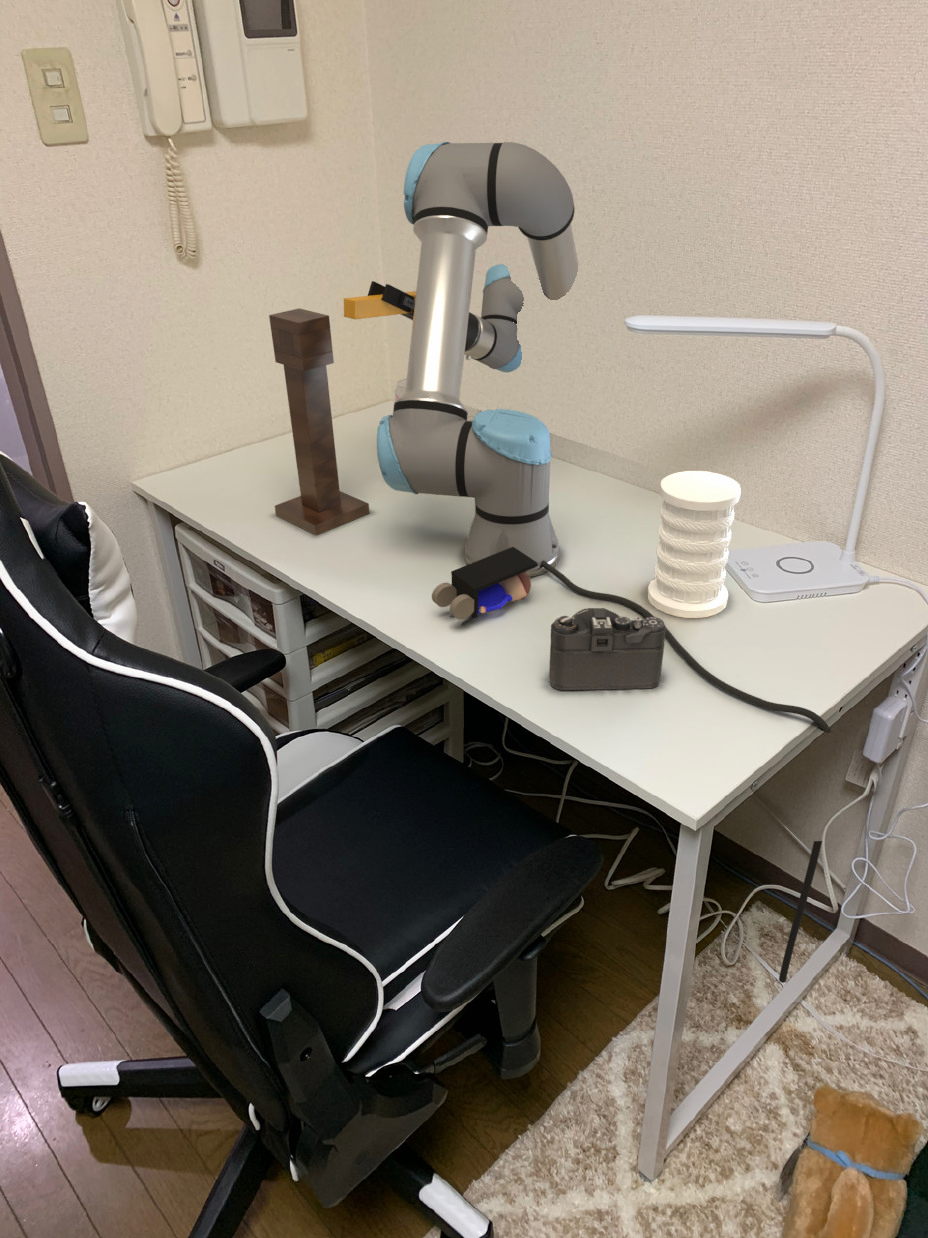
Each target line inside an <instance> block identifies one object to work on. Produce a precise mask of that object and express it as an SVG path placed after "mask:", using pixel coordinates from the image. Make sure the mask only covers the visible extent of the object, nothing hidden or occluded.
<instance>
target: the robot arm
mask: <svg viewBox="0 0 928 1238" xmlns="http://www.w3.org/2000/svg"><path fill="white" fill-rule="evenodd" d="M403 195H404V198H403V208H404V214H405V217H406V219H407V221H408V222H409V224H410V225H413V228H412V229H413V233H414V235H415V236H416V237H417V239H418V240H419V242H420V243H421V244H420V251H419V263H418V271H417V281H416V289H415V291H416V298H415V297H413V296H411V295H409V294H407V293H405V292H406V291H403V290H401V289H399V288H397V287H395V286H393V285H391V284H388V283H386V284H385V286H384V285H382V284H380V283H379V282H376V281H374V280H372V281H371V283H370V286H369V289H368V293H367V296H372V295H382V294H383V296H382V299H381V300H383V301H385V302H387V303H389V304H391V305H393V306H395V307H397V308H399V309H402V310H404V311H406V312H408V313H405V314H400V316H402V317H405V318H407V319H409V320H411V321H412V327H411V336H410V344H409V352H408V353H409V354H408V364H407V371H406V378H407V380H406V390H405V393H404V395H403V396H401V397H400V398H399V399H397V400H396V401H395V400H394V403H393V409H392V410H393V411H392V414H387V415H385V416H383V417H382V418H381V419H380V421H379V425H378V427H377V433H376V453H377V454H376V455H377V461H378V462H377V463H378V466H379V470H380V473H381V476H382V478H383V481H384V482H385V484H386V485H387V486H388V487H389V488H390V489H392V490H394V491H397V492H404V493H411V494H413V495H418V494H425V495H436V496H449V497H458V498H459V497H461V498H472V499H474V516H473V520H472V522H471V526H470V529H469V533H468V536H467V538H466V541H465V545H464V560H465V562H466V565H468V564H471V563H473V562H476V561H478V560H481V559H483V558H486V557H488V556H491V555H493V554H496V553H498V552H501V551H503V550H506V549H508V548H511V547H515V548H516V549H518V550H519V551H521V552H522V553H524V554H525V555H527V556H528V557H530V558H531V559H533V560H534V561H535V562H537V563H538V566H537V567H535V568H533V569H530V570H528V571H525V573H526V574H527V575H528V577H529V578H532V577H533V578H534V577H537V576H539V575H542V574H545V573H547V572H549V573H551V575H553V576H554V577H556V578H557V579H558V580H559V581H561V582H562V583H563V584H564V586H566V587H567V588H569V589H570V590H571V591H573V592H574V593H577V594H578V595H581V596H585V597H587V598H593V599H598V600H606V601H611V602H616V603H618V604H619V603H620V604H622V605H624V606H627V607H629V608H631V609H632V610H634V611H635V612H637V613H639V614H641V616H642V617H644V619H645V618H647V617H655V615H653V614H652V613H651V612H650V611H648V610H647V609H646V608H644V607H643V606H642V605H640V604H638V603H636V602H635V601H632V600H630V599H628V598H627V597H623V596H620V595H617V594H610V593H604V592H597V591H593V590H592V591H591V590H588V589H585V588H582V587H580V586H578V585H576V584H575V583H574V582H572V580H570V579H569V578H568V577H567V576H566V575H564V574H563V573H562V572H561V571H559V570H558V569H556V568H555V566H556V565H557V564H558V563H559V560H560V546H559V541H558V538H557V535H556V532H555V528H554V526H553V522H552V519H551V516H550V483H551V482H550V480H551V478H550V477H551V476H550V475H551V460H552V456H553V455H552V451H551V433H550V431H549V429H548V426H547V425H546V424H545V423H544V422H543V421H542V420H541V419H539V418H538V417H536V416H534V415H531V414H530V413H527V412H523V411H519V410H514V409H507V408H496V409H494V410H493V409H485V410H482V411H480V412H478V413H476V414H475V416H474V417H473V419H472V420H468V412H469V410H468V409H467V408H466V407H465V405H464V404H463V403H462V401H461V399H460V398H461V391H462V390H461V387H462V380H463V370H464V360H467V361H471V359H473V360H474V361H477V362H479V363H480V364H483V365H485V366H487V367H488V368H490V369H492V370H497V371H499V372H503V373H511V372H514V371H516V370H517V369H519V368H520V366H521V365H522V364H521V360H522V352H521V345H520V344H519V341H518V340H517V336H518V328H517V325H516V324H517V314H518V312H520V311H521V309H522V306H524V305H523V304H524V303H523V301H524V297H523V294H522V291H521V290H520V289H519V287H517V286H516V284H514V283H513V282H512V281H511V277H510V273H509V271H508V268H507V266H505V265H504V264H505V263H500V264H495V265H493V266H490V267H489V268H488V270H487V271H486V274H485V280H484V285H483V286H484V287H483V289H482V301H481V302H482V303H481V312H480V313H481V315H480V316H479V315H477V314H474V313H472V312H470V306H471V299H472V289H473V279H474V271H475V263H476V261H475V260H476V253H477V250H478V249H479V248H480V247H482V246H483V245H484V244H485V243H486V241H487V240H488V239H487V238H488V232H489V231H488V230H489V227H516V228H518V230H519V231H520V233H521V234H522V235H523V236H524V237H526V238H527V239H526V240H527V242H528V245H529V249H530V253H531V256H532V259H533V263H534V266H535V269H536V273H537V277H538V279H539V280H540V283H541V287H542V290H543V293H544V295H545V296H546V297H547V298H548V299H550V300H558V299H560V298H561V297H563V296H565V295H566V293H567V292H569V290H570V289H571V287H572V285H573V283H574V281H575V278H576V276H577V272H578V265H579V260H578V254H577V249H576V242H575V239H574V233H573V232H574V231H573V228H572V222H573V220H574V217H575V209H576V208H575V202H574V197H573V192H572V190H571V187H570V185H569V183H568V182H567V180H566V178H565V176H564V175H563V173H562V172H561V171H560V170H559V168H558V167H557V166H556V165H555V164H554V163H553V162H552V161H551V160H549V159H548V158H547V157H546V156H545V155H543V154H542V153H541V152H539V151H538V150H536V149H534V148H532V147H530V146H528V145H526V144H522V143H519V142H512V141H508V142H507V141H505V142H449V141H442V142H439V143H430V144H429V143H428V144H427V143H426V144H424V145H421V146H420V147H419V148H418V149H416V150H415V152H414V153H413V154H412V156H411V158H410V159H409V163H408V166H407V168H406V173H405V178H404V183H403ZM414 299H415V300H414ZM411 309H412V310H413V311H412V313H410V312H411ZM513 322H514V323H513ZM520 364H521V365H520ZM665 640H667V641H668V643H669V644H670V645H671V646H672V647H673V649H674V650H675V651H676V652H677V653H678V654H679V655H680V656H681V657H682V658H683V660H685V662H686V663H687V664H688V665H689V666H690V667H691V668H692V669H693V670H694V671H695V672H696V673H698V674H699V675H700V676H701V677H702V678H704V679H705V680H706V681H708V682H709V683H711V684H712V685H714V686H716V688H719V689H720V690H722V691H724V692H726V693H728V694H729V695H731V696H734V697H735V698H738V699H741V700H743V701H746V702H748V703H750V704H752V705H755V706H757V707H760V708H762V709H766V710H769V711H773V712H774V711H775V712H780V713H787V714H795V715H799V716H802V717H805V718H807V719H809V720H811V721H812V722H814V723H815V724H816V725H817V726H818V727H819V729H820V730H821V731H822V732H824V733H826V734H830V733H831V732H832V730H831V728H830V726H829V725H828V723H827V722H826V721H825V719H823V718H822V717H821V716H820V715H819V714H818V713H816V712H815V711H812V710H810V709H808V708H805V707H802V706H801V707H800V706H797V705H796V706H795V705H790V704H782V703H777V702H772V701H767V700H765V699H762V698H759V697H757V696H755V695H752V694H750V693H747V692H745V691H743V690H741V689H738V688H736V687H734V686H732V685H730V684H728V683H726V682H724V681H723V680H721V679H720V678H718V677H716V675H713V674H712V673H711V672H709V671H708V670H707V669H706V668H704V667H703V666H702V665H701V664H700V663H699V662H698V661H697V660H696V659H695V658H694V657H693V656H692V655H691V654H690V653H689V652H688V651H687V650H686V649H685V648H684V647H683V646H682V645H681V643H680V642H679V641H678V640H677V638H676V637H675V635H673V634H672V633H671V631H670V630H669V629H668V628H667V627H666V631H665ZM822 844H823V841H822V840H813V844H812V848H811V852H810V857H809V861H808V864H807V868H806V873H805V877H804V880H803V884H802V888H801V891H800V895H799V899H798V901H797V905H796V908H795V909H796V910H795V913H794V917H793V920H792V924H791V927H790V932H789V935H788V940H787V943H786V945H785V951H784V953H783V954H784V955H783V959H782V963H781V967H780V971H779V977H778V981H779V982H780V983H782V984H784V983H786V981H787V977H788V973H789V969H790V964H791V960H792V957H793V952H794V948H795V945H796V941H797V936H798V934H799V929H800V926H801V923H802V919H803V915H804V912H805V908H806V904H807V901H808V898H809V894H810V890H811V887H812V883H813V880H814V876H815V872H816V868H817V864H818V860H819V857H820V852H821V848H822Z"/></svg>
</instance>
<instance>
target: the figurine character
mask: <svg viewBox="0 0 928 1238" xmlns="http://www.w3.org/2000/svg"><path fill="white" fill-rule="evenodd" d="M537 566H538V563H537V562H535V561H534V560H533V559H531V558H530V557H528V556H527V555H525V554H524V553H522V552H521V551H519V550H518V549H516V548H515V547H511V548H508V549H506V550H503V551H501V552H498V553H496V554H493V555H491V556H488V557H486V558H483V559H481V560H478V561H476V562H473V563H471V564H466V565H464V566H461V567H459V568H456V569H454V570H452V571H451V572H450V574H451V583H449V582H441V583H440V584H438V585H436V587H435V588H434V589H433V591H432V593H431V601H432V602H433V603H435V605H437V606H438V607H439V608H447V607H449V612H450V614H449V618H456V619H457V620H463V621H462V622H461V623H460V626H465V625H468V624H469V623H471V622H474V621H475V620H477V619H479V617H480V614H486V613H488V612H494V611H498V610H502V609H503V607H504V606H505V605H506V604H507V603H509V602H520V601H522V600H525V598H527V597H528V595H530V591H531V588H532V581H531V579H530V577H528V575H527V574H526V573H525V571H528V570H530V569H533V568H535V567H537ZM470 616H471V617H470ZM465 619H466V620H465Z"/></svg>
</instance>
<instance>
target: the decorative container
mask: <svg viewBox="0 0 928 1238" xmlns="http://www.w3.org/2000/svg"><path fill="white" fill-rule="evenodd" d="M741 491H742V489H741V485H740V483H739V482H737V481H736V480H735V479H733V478H732V477H729V476H728V475H725V474H721V473H718V472H712V471H705V470H686V471H685V470H684V471H679V472H674V473H671V474H669V475H666V476H664V477H663V478H662V479H661V481H660V484H659V495H660V497H661V498H662V500H663V502H662V504H661V507H660V510H659V511H660V518H661V523H660V524H659V527H658V531H657V532H658V538H659V543H658V545H657V547H656V558H657V559H658V560H657V562H656V564H655V567H654V575H655V577H654V579H651V581H650V582H649V584H648V586H647V599H648V602H649V603H650V604H651V605H652V606H653V607H654V608H656V610H657V611H658V610H659V611H660V612H662V613H665V614H667V615H669V616H670V615H671V616H673V617H679V618H683V619H702V618H703V619H704V618H708V617H713V616H716V615H717V614H719V613H721V612H722V611H724V610H725V608H726V607H727V603H728V600H729V592H728V589H727V588H726V586H725V585H724V583H725V580H726V577H727V576H726V575H727V573H726V572H727V571H726V565H727V563H728V561H729V555H730V554H729V549H728V546H729V545H730V542H731V540H732V535H733V534H732V529H731V527H732V526H731V525H732V524H733V522H734V519H735V509H734V507H735V505H736V504H738V503H739V501H740V498H741V493H742V492H741Z"/></svg>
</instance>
